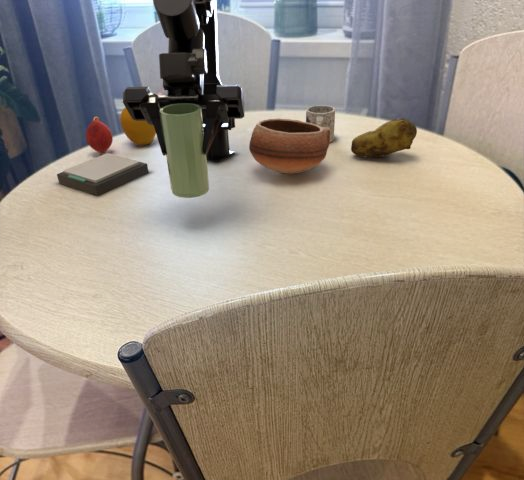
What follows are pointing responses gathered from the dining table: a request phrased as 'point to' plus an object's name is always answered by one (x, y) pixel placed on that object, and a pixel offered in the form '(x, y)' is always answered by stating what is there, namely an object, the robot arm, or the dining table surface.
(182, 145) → the tumbler
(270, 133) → the bowl
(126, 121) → the apple
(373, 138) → the potato
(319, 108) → the mug
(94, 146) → the onion
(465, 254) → the dining table surface
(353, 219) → the dining table surface
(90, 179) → the scale
